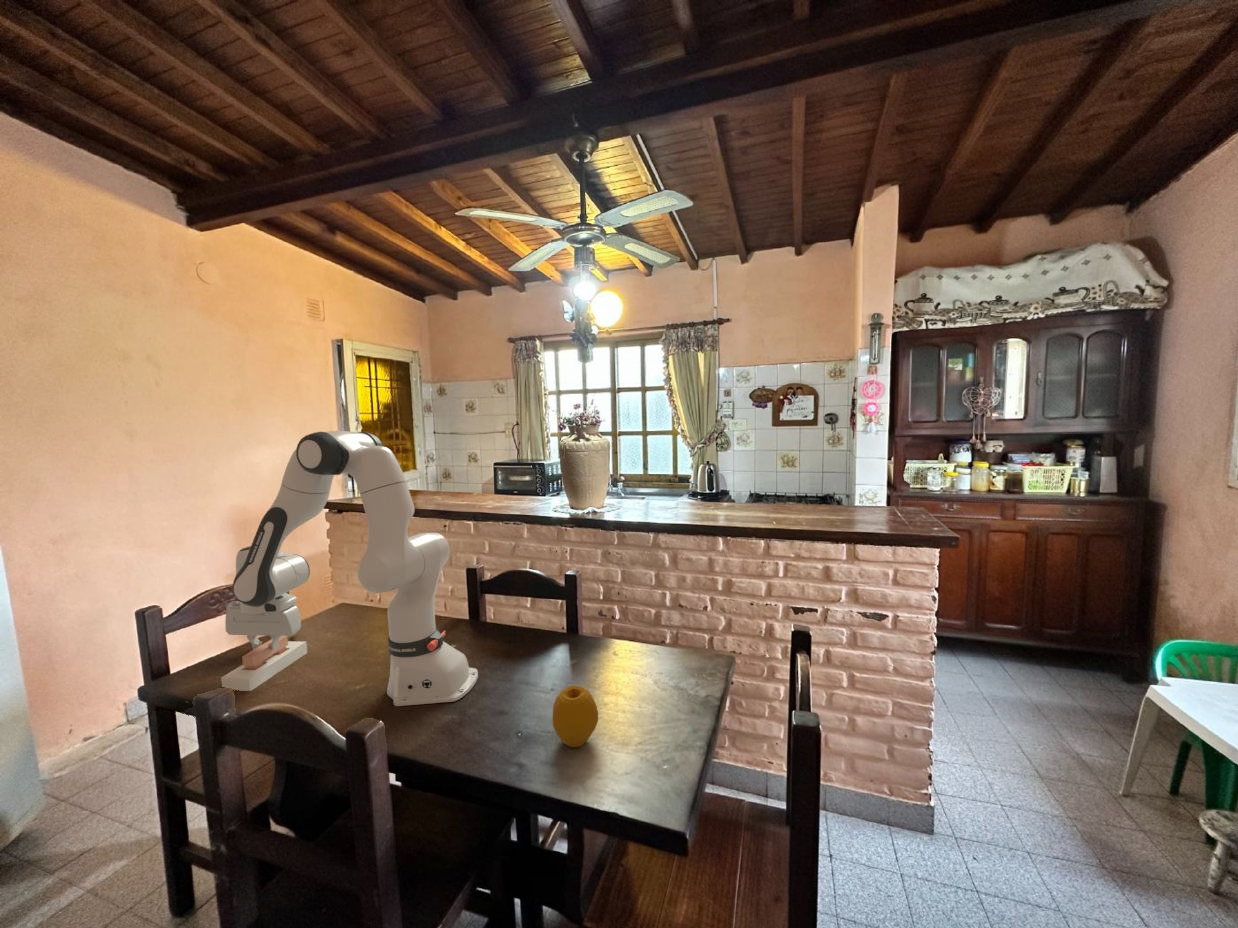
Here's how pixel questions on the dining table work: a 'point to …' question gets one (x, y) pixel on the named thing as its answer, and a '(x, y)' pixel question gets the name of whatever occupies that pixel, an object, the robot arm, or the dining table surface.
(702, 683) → the dining table surface
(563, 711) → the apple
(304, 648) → the slot rail
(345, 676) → the dining table surface
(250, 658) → the prong clip
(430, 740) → the dining table surface
